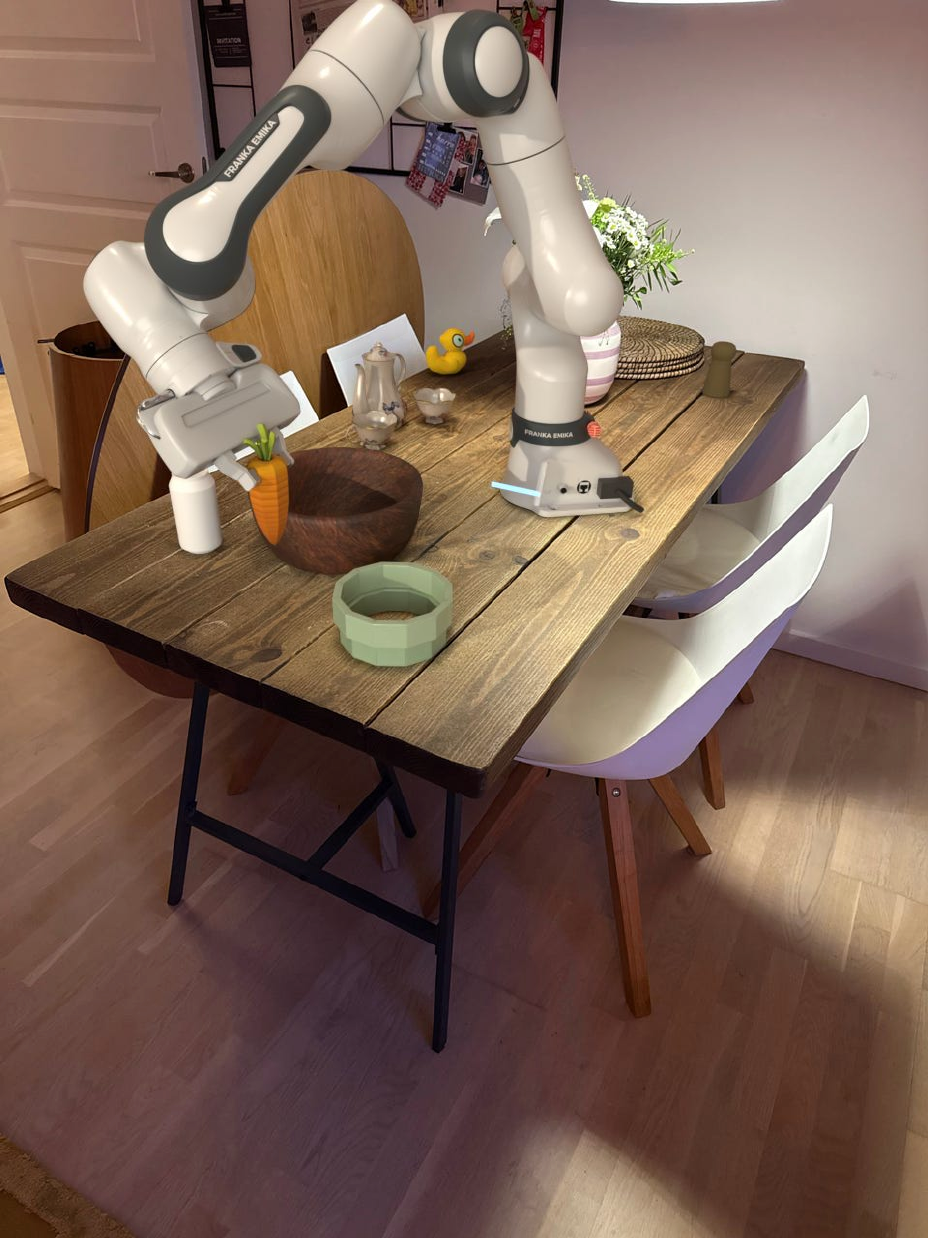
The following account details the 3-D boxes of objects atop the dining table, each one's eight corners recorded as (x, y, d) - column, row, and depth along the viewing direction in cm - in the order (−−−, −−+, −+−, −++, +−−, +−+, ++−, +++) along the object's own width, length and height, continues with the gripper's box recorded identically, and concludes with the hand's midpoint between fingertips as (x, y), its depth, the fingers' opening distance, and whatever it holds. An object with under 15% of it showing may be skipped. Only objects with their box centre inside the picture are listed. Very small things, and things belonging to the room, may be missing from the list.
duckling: (468, 367, 202) (470, 323, 196) (477, 374, 198) (479, 329, 192) (422, 371, 198) (422, 327, 193) (430, 379, 194) (430, 333, 189)
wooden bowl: (401, 596, 118) (400, 528, 113) (227, 575, 122) (217, 508, 116) (438, 514, 139) (438, 454, 133) (288, 498, 142) (282, 439, 136)
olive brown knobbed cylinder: (700, 387, 195) (709, 337, 189) (727, 389, 194) (737, 339, 188) (702, 396, 190) (712, 345, 184) (730, 398, 189) (741, 347, 183)
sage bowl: (451, 605, 117) (452, 562, 113) (451, 671, 105) (452, 625, 101) (342, 603, 116) (340, 560, 113) (329, 669, 104) (326, 623, 101)
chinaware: (381, 469, 156) (387, 381, 147) (309, 439, 162) (310, 352, 153) (463, 423, 176) (473, 342, 167) (396, 398, 183) (402, 319, 173)
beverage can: (230, 539, 130) (220, 464, 123) (212, 559, 125) (200, 482, 118) (192, 534, 131) (179, 460, 124) (172, 554, 126) (158, 477, 119)
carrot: (286, 556, 104) (275, 437, 96) (247, 551, 105) (232, 433, 96) (301, 537, 108) (291, 422, 100) (263, 532, 109) (250, 417, 100)
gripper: (139, 389, 89) (226, 497, 91) (264, 341, 105) (336, 434, 107) (115, 422, 93) (199, 525, 95) (238, 371, 109) (308, 460, 111)
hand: (272, 476), depth 101 cm, fingers closed on carrot, 5 cm apart
